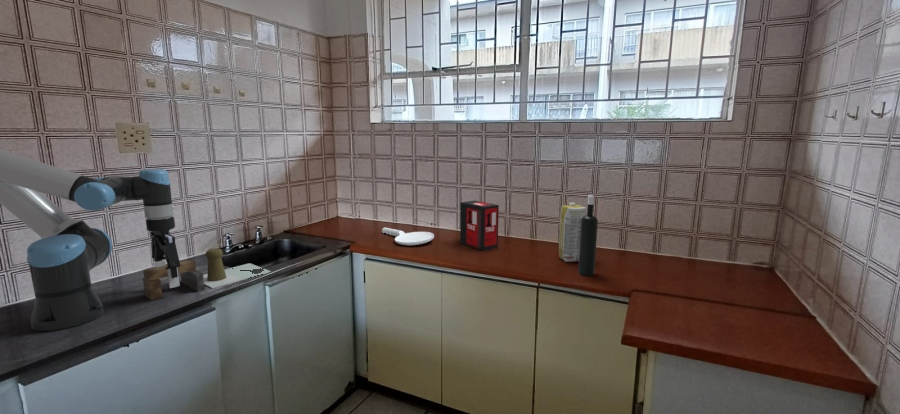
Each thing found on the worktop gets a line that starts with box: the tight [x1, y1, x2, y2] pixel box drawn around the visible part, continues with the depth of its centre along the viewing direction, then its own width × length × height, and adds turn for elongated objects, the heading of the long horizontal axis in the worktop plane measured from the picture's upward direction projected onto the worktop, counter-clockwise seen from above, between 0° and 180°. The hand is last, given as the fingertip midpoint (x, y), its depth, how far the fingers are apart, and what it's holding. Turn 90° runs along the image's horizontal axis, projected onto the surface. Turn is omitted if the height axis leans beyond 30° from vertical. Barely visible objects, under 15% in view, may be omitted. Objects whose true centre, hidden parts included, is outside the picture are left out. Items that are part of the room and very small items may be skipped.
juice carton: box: [558, 202, 587, 263], centre depth 169 cm, size 9×8×24 cm
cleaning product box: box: [459, 200, 499, 252], centre depth 191 cm, size 16×9×20 cm, turn 38°
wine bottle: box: [578, 194, 599, 277], centre depth 152 cm, size 6×6×30 cm
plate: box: [203, 262, 272, 290], centre depth 152 cm, size 21×16×1 cm
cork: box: [205, 247, 226, 281], centre depth 146 cm, size 6×6×11 cm
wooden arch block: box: [142, 259, 206, 301], centre depth 136 cm, size 14×14×9 cm
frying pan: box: [381, 227, 435, 246], centre depth 204 cm, size 35×19×5 cm, turn 44°
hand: (168, 283), depth 135 cm, fingers open, 10 cm apart
